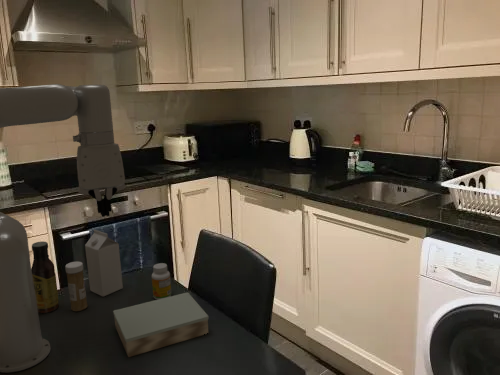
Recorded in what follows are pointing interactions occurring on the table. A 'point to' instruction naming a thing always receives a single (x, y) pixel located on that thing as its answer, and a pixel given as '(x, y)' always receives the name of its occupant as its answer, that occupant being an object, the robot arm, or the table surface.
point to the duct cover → (158, 316)
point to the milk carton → (103, 264)
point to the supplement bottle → (161, 281)
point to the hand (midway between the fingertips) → (105, 215)
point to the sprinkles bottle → (76, 286)
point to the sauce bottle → (44, 278)
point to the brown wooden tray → (163, 338)
